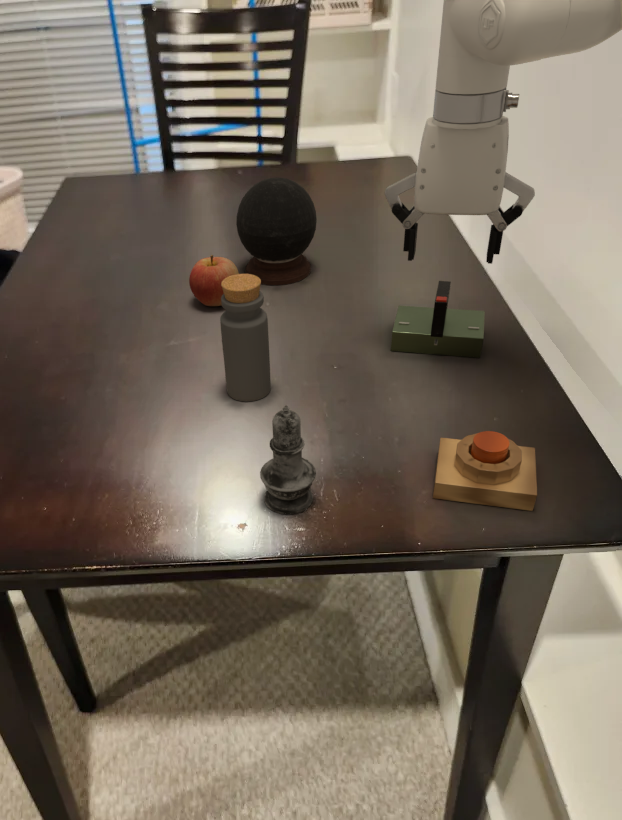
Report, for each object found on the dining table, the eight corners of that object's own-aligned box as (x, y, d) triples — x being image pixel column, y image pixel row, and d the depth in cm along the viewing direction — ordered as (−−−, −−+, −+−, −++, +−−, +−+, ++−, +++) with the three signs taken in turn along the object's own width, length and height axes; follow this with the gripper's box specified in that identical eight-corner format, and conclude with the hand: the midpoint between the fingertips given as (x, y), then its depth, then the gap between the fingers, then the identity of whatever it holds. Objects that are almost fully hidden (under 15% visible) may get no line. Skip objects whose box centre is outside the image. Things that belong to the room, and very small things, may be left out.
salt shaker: (316, 480, 76) (317, 388, 68) (315, 517, 72) (315, 423, 64) (263, 480, 77) (258, 388, 69) (259, 515, 73) (252, 423, 65)
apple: (235, 315, 107) (231, 265, 102) (186, 313, 109) (180, 264, 103) (246, 292, 113) (242, 244, 108) (199, 290, 115) (193, 243, 109)
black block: (434, 314, 97) (439, 278, 93) (446, 315, 97) (451, 279, 93) (430, 336, 92) (434, 300, 89) (442, 337, 92) (447, 301, 88)
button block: (530, 463, 76) (538, 434, 74) (532, 511, 71) (541, 481, 68) (438, 452, 79) (442, 424, 76) (432, 498, 73) (437, 469, 70)
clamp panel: (481, 330, 99) (485, 309, 97) (479, 369, 91) (483, 347, 89) (396, 324, 102) (398, 304, 100) (387, 361, 94) (389, 340, 92)
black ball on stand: (326, 280, 114) (327, 186, 104) (249, 292, 113) (243, 198, 103) (304, 251, 124) (303, 162, 114) (233, 262, 122) (226, 172, 113)
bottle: (228, 404, 89) (217, 294, 79) (225, 380, 93) (215, 273, 83) (273, 399, 89) (268, 289, 79) (268, 375, 93) (263, 269, 83)
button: (506, 446, 73) (509, 432, 72) (506, 467, 71) (509, 453, 69) (471, 442, 74) (473, 429, 73) (470, 462, 71) (472, 449, 70)
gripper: (549, 97, 77) (521, 249, 88) (393, 100, 81) (385, 245, 93) (553, 113, 72) (522, 272, 83) (385, 116, 76) (377, 267, 87)
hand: (449, 258), depth 88 cm, fingers open, 9 cm apart
